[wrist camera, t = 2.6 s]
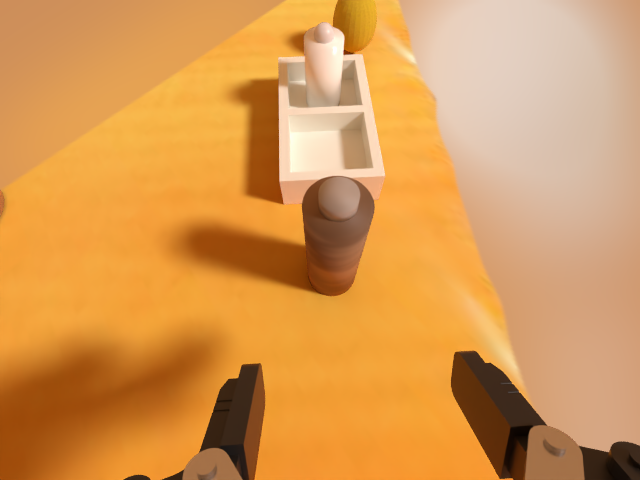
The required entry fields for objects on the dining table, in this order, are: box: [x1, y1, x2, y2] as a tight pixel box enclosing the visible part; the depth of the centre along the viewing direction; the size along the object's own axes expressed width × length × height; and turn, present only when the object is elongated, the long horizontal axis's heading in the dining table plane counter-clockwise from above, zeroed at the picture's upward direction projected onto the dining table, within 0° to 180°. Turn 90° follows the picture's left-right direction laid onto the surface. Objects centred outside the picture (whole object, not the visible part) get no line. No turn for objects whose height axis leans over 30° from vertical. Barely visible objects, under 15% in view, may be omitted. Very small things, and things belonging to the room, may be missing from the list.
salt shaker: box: [304, 22, 344, 107], centre depth 34 cm, size 4×4×9 cm
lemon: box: [333, 0, 377, 53], centre depth 41 cm, size 6×6×8 cm
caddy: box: [278, 54, 385, 204], centre depth 36 cm, size 18×10×4 cm, turn 4°
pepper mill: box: [302, 176, 374, 296], centre depth 24 cm, size 4×4×13 cm
